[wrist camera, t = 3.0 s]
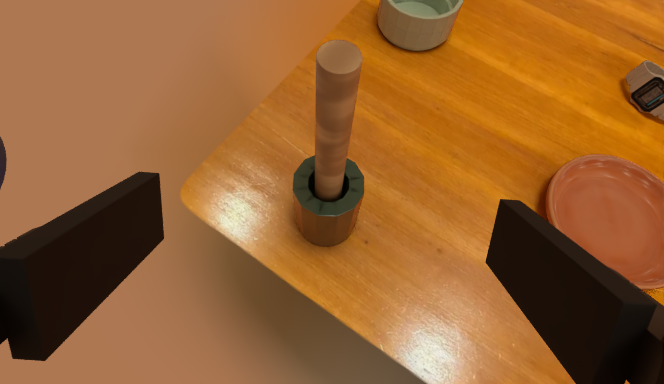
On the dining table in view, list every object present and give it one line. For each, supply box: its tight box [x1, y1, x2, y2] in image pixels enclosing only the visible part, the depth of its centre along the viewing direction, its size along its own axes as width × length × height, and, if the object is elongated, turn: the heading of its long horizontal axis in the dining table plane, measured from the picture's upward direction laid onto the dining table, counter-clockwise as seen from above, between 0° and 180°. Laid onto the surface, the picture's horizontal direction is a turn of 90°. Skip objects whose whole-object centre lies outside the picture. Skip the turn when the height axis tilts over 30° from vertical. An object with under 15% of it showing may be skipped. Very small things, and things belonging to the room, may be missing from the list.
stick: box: [315, 40, 362, 202], centre depth 32 cm, size 3×3×24 cm
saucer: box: [545, 154, 664, 289], centre depth 43 cm, size 16×16×3 cm
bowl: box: [377, 0, 463, 51], centre depth 55 cm, size 11×11×6 cm
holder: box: [293, 155, 364, 247], centre depth 39 cm, size 7×7×9 cm
